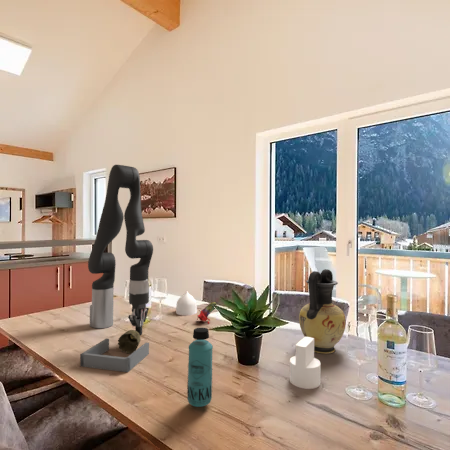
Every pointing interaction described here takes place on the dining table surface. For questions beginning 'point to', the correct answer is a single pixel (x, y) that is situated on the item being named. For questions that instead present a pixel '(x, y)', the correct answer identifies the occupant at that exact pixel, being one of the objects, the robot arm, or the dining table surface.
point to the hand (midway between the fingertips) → (138, 335)
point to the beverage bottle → (200, 369)
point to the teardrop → (186, 305)
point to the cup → (129, 341)
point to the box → (111, 358)
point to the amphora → (322, 313)
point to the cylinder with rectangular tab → (305, 365)
